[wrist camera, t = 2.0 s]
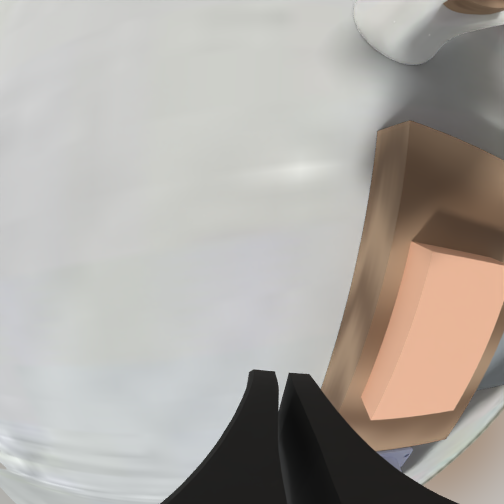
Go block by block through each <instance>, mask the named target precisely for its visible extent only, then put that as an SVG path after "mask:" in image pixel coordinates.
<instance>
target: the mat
mask: <svg viewBox="0 0 504 504" xmlns="http://www.w3.org/2000/svg"><path fill="white" fill-rule="evenodd" d="M500 385H504V333H503V335H502V337H501V340H500V342H499V345H498V347H497V349H496V351H495V354H494V356H493V358H492V360H491V362H490V364H489V366H488V368H487V370H486V372H485V374H484V376H483V378H482V380H481V382H480V384H479V386H478V388H477V389H476V390H481V389H486V388H491V387H496V386H500Z"/></svg>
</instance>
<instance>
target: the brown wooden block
mask: <svg viewBox="0 0 504 504" xmlns="http://www.w3.org/2000/svg"><path fill="white" fill-rule="evenodd" d="M411 241H413V242H418V243H423V244H428V245H433V246H438V247H443V248H448V249H453V250H458V251H463V252H468V253H472V254H477V255H482V256H486V257H491V258H493V259H496V260H498V261H500V262H502V263H504V160H502V159H500V158H498V157H496V156H494V155H492V154H490V153H488V152H486V151H484V150H482V149H480V148H478V147H476V146H473V145H471V144H469V143H467V142H464V141H462V140H460V139H458V138H455V137H453V136H450V135H448V134H446V133H443V132H441V131H438V130H435V129H433V128H430V127H428V126H425V125H422V124H419V123H416V122H414V121H411V120H409V121H406V122H403V123H400V124H397V125H394V126H391V127H388V128H385V129H382V130H379V131H378V132H377V142H376V150H375V159H374V166H373V173H372V180H371V187H370V193H369V200H368V206H367V211H366V217H365V222H364V228H363V233H362V238H361V243H360V248H359V253H358V257H357V262H356V266H355V271H354V275H353V279H352V284H351V288H350V292H349V296H348V300H347V304H346V307H345V311H344V315H343V319H342V322H341V326H340V329H339V333H338V336H337V340H336V343H335V347H334V350H333V353H332V356H331V360H330V363H329V366H328V369H327V372H326V375H325V378H324V381H323V384H322V387H321V390H322V392H323V393H324V394H325V396H326V397H327V398H328V400H329V401H330V402H331V403H332V405H333V406H334V407H335V409H336V410H337V411H338V412H339V413H340V415H341V416H342V417H343V418H344V419H345V420H346V422H347V423H348V424H349V425H350V426H351V427H352V428H353V430H354V431H355V432H356V433H357V434H358V435H359V436H360V437H361V438H362V439H363V440H364V441H365V442H366V443H367V444H368V445H369V446H370V447H371V448H372V449H374V450H375V451H381V450H389V449H397V448H403V447H409V446H415V445H420V444H426V443H430V442H435V441H440V440H444V439H446V438H447V436H448V435H449V433H450V432H451V430H452V429H453V427H454V426H455V424H456V423H457V421H458V420H459V418H460V417H461V415H462V413H463V412H464V410H465V409H466V407H467V405H468V404H469V402H470V400H471V398H472V397H473V395H474V393H475V391H476V389H477V388H478V386H479V384H480V382H481V380H482V378H483V376H484V374H485V372H486V370H487V368H488V366H489V364H490V362H491V360H492V358H493V356H494V354H495V351H496V349H497V347H498V345H499V342H500V340H501V337H502V335H503V333H504V302H503V305H502V308H501V311H500V313H499V316H498V319H497V322H496V324H495V327H494V329H493V332H492V334H491V337H490V339H489V342H488V344H487V346H486V349H485V351H484V353H483V355H482V357H481V360H480V362H479V364H478V366H477V368H476V370H475V372H474V374H473V376H472V378H471V380H470V382H469V384H468V386H467V388H466V389H465V391H464V393H463V395H462V397H461V398H460V400H459V402H458V404H457V405H456V407H455V409H454V410H452V411H446V412H441V413H434V414H428V415H421V416H413V417H404V418H395V419H383V420H370V417H369V415H368V413H367V410H366V408H365V406H364V403H363V401H362V398H361V396H362V393H363V391H364V389H365V386H366V384H367V382H368V379H369V377H370V374H371V372H372V369H373V367H374V364H375V361H376V359H377V356H378V353H379V351H380V348H381V345H382V342H383V339H384V336H385V334H386V331H387V328H388V325H389V322H390V318H391V315H392V312H393V309H394V305H395V302H396V299H397V295H398V292H399V288H400V285H401V281H402V277H403V273H404V269H405V265H406V261H407V257H408V253H409V249H410V244H411Z"/></svg>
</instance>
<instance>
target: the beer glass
mask: <svg viewBox="0 0 504 504" xmlns="http://www.w3.org/2000/svg"><path fill="white" fill-rule="evenodd" d="M353 16H354V20H355V23H356V26H357V28H358V30H359V31H360V33H361V34H362V36H363V37H364V38H365V40H366V41H367V42H368V43H369V44H370V45H371V46H372V47H373V48H374V49H376V50H377V51H378V52H379V53H381V54H382V55H384V56H386V57H387V58H389V59H391V60H393V61H396V62H399V63H402V64H407V65H418V64H422V63H425V62H427V61H429V60H430V59H431V58H432V57H433V56H434V55H435V54H436V53H437V52H438V51H439V49H440V48H441V47H442V46H443V45H444V44H445V43H446V42H447V41H449V40H450V39H452V38H454V37H456V36H458V35H462V34H465V33H468V32H472V31H477V30H481V29H486V28H490V27H495V26H499V25H504V0H356V1H355V4H354V8H353Z"/></svg>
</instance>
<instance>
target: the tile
mask: <svg viewBox="0 0 504 504" xmlns="http://www.w3.org/2000/svg"><path fill="white" fill-rule="evenodd" d="M503 302H504V263H502V262H500V261H498V260H496V259H493V258H491V257H486V256H482V255H477V254H472V253H468V252H463V251H458V250H453V249H448V248H443V247H438V246H433V245H428V244H423V243H418V242H413V241H411V244H410V249H409V253H408V257H407V261H406V265H405V269H404V273H403V277H402V281H401V285H400V288H399V292H398V295H397V299H396V302H395V305H394V309H393V312H392V315H391V318H390V322H389V325H388V328H387V331H386V334H385V336H384V339H383V342H382V345H381V348H380V351H379V353H378V356H377V359H376V361H375V364H374V367H373V369H372V372H371V374H370V377H369V379H368V382H367V384H366V386H365V389H364V391H363V393H362V396H361V398H362V401H363V403H364V406H365V408H366V410H367V413H368V415H369V417H370V420H383V419H395V418H404V417H413V416H421V415H428V414H434V413H441V412H446V411H452V410H454V409H455V407H456V405H457V404H458V402H459V400H460V398H461V397H462V395H463V393H464V391H465V389H466V388H467V386H468V384H469V382H470V380H471V378H472V376H473V374H474V372H475V370H476V368H477V366H478V364H479V362H480V360H481V357H482V355H483V353H484V351H485V349H486V346H487V344H488V342H489V339H490V337H491V334H492V332H493V329H494V327H495V324H496V322H497V319H498V316H499V313H500V311H501V308H502V305H503Z"/></svg>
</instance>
